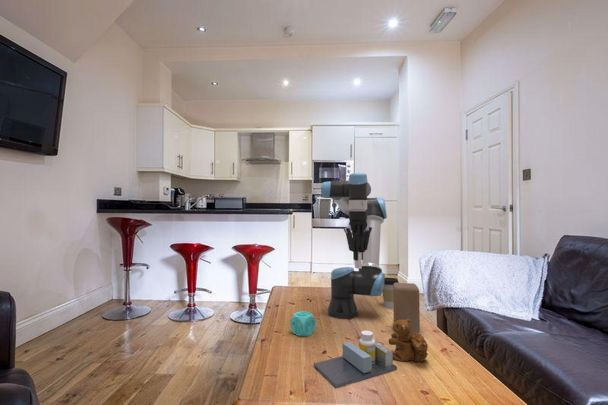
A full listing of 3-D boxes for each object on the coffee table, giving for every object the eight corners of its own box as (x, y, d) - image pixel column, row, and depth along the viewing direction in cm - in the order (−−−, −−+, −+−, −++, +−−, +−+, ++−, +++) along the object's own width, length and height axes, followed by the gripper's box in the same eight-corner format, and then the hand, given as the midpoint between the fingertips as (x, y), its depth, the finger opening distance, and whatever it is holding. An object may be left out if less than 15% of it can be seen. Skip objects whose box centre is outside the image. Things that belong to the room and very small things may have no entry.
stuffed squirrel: (395, 347, 117) (395, 313, 117) (433, 358, 108) (433, 321, 108) (384, 357, 109) (384, 320, 109) (425, 370, 100) (424, 330, 100)
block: (420, 336, 127) (419, 288, 128) (395, 334, 129) (395, 287, 130) (416, 327, 137) (415, 283, 137) (393, 325, 139) (393, 282, 139)
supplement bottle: (357, 358, 106) (356, 330, 106) (371, 356, 107) (371, 329, 107) (362, 366, 101) (362, 336, 101) (378, 364, 102) (377, 335, 102)
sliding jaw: (342, 356, 106) (342, 343, 106) (351, 354, 108) (350, 341, 108) (363, 373, 96) (363, 358, 96) (372, 370, 97) (372, 355, 97)
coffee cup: (401, 305, 168) (401, 278, 168) (396, 310, 160) (396, 282, 160) (384, 302, 173) (383, 276, 174) (378, 307, 165) (378, 279, 165)
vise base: (313, 366, 102) (313, 348, 103) (370, 351, 113) (370, 335, 113) (335, 388, 90) (335, 367, 90) (397, 369, 100) (396, 351, 101)
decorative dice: (289, 333, 130) (289, 314, 131) (302, 327, 136) (302, 310, 136) (303, 338, 125) (303, 318, 125) (315, 332, 131) (315, 314, 131)
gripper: (350, 210, 118) (350, 271, 117) (376, 210, 124) (376, 268, 123) (339, 210, 125) (339, 267, 124) (365, 210, 130) (365, 265, 130)
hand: (358, 268), depth 124 cm, fingers closed
